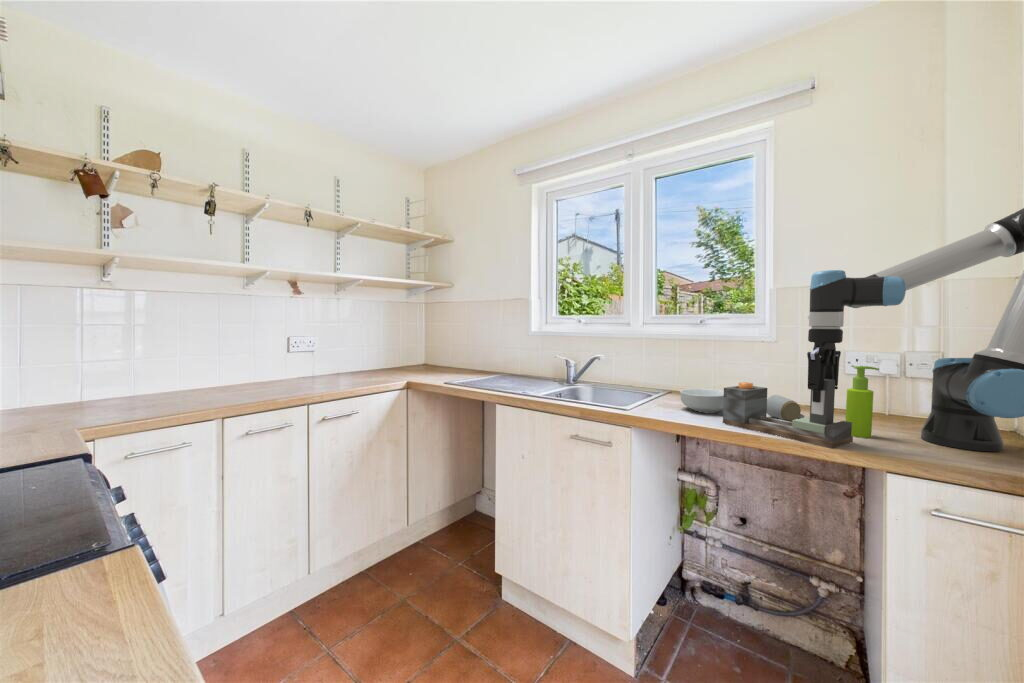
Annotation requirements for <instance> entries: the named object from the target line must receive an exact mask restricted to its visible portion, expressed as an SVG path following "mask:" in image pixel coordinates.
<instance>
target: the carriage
mask: <svg viewBox="0 0 1024 683" xmlns="http://www.w3.org/2000/svg"><path fill="white" fill-rule="evenodd" d="M823 391H825V400H824V415H819V414H813V413H811V407H812V390H811V389H810V406H809V417H808V416H806V417H804V418H800V419H798V418H797V419H795V420H792V421H791V422H792V427H793V428H798V429H803V430H808V431H813V432H817V433H822V434H825V425H828V424H832V423H836V422H837V421H836V422H835V421H834V420H835V419H834V417H835V416H834V414H835V413H834V412H835V397H836V396H835V392H836V389H835V380H832V379H824V386H823Z"/></svg>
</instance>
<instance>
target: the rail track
mask: <svg viewBox="0 0 1024 683" xmlns="http://www.w3.org/2000/svg"><path fill="white" fill-rule="evenodd" d="M723 391H724V400H723V409H722V424H723V423H725V424H724V425H728V424H729V425H728V426H732V425H733V426H732V427H736V426H737V427H736V428H741V427H742V428H741V429H745V428H746V430H749V429H751V430H750V431H754V430H755V432H758V431H760V432H759V433H762V432H763V434H767V433H768V435H771V434H772V436H775V435H777V436H776V437H780V436H781V438H784V437H785V438H784V439H788V438H790V440H793V439H794V441H797V440H798V442H802V443H807V444H811V445H814V446H820V447H822V448H823V447H824V448H828V449H835V448H836V447H837V446H838V447H840V445H841V446H843V445H846V444H850V442H851V443H853V441H854V436H851V432H852V422H847V421H846V420H841V421H836V423H832V424H828V425H825V434H822V433H817V432H813V431H808V430H803V429H798V428H793V427H792V421H784V420H781V419H777V418H774V417H769V416H767V415H768V414H767V399H768V387H762V386H756V385H755V386H754V385H753V389H750V390H748V389H741V388H739V385H735V386H726V387H723Z"/></svg>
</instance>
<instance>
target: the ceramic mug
mask: <svg viewBox="0 0 1024 683" xmlns="http://www.w3.org/2000/svg"><path fill="white" fill-rule="evenodd" d="M766 415H768V417H769V416H770V418H774V419H777V418H778V419H779V420H784V421H789V422H792V420H795V419H798V418H799V419H800V418H805V415H804V414H802V413H801V406H800V404H798V402H796V400H795V401H794V400H792V399H790V398H787V397H784V396H781V395H779V394H774V395H771V396H769V397H767V414H766Z"/></svg>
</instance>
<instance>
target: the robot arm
mask: <svg viewBox="0 0 1024 683" xmlns="http://www.w3.org/2000/svg"><path fill="white" fill-rule="evenodd" d="M1021 253H1024V207H1023V208H1021V209H1019V210H1017V211H1015V212H1013V213H1012V214H1009V215H1007V216H1005V217H1003V218H1001V219H998V220H997V221H994V222H991V223H989V224H987V225H986V226H985V227H984V229H983V230H982V231H979V232H977V233H974V234H971V235H969V236H967V237H964V238H961V239H959V240H956V241H954V242H952V243H949V244H947V245H944V246H941V247H938V248H936V249H934V250H933V249H932V250H931V251H928V252H926V253H923V254H921V255H919V256H916V257H913V258H910V259H908V260H906V261H903V262H901V263H898V264H895V265H893V266H890V267H888V268H886V269H883V270H880V271H878V272H876V273H873V274H871V275H868V276H865V277H847V275H846V271H845V270H841V269H838V270H837V269H829V270H828V269H827V270H819V271H815V272H813V274H811V279H810V286H809V315H808V316H807V319H808V327H809V330H808V334H807V335H808V336H807V338H808V339H807V341H808V342H810V343H814V344H813V348H812V349H813V350H812V351H807V354H806V355H807V362H808V363H807V389H808V390H810V391H811V390H812V407H811V413H813V414H819V415H824V400H825V391H823V386H824V379H832V380H835V390H838V389H839V388H838V385H839V372H840V371H839V370H840V358H841V355H842V354H841V353H842V351H841V350H836V344H840V343H843V340H844V339H843V337H844V336H843V334H844V331H843V329H842V328H843V327H844V318H845V317H844V316H845V312H844V310H845V306H846V307H848V308H853V309H860V308H864V307H865V308H866V307H888V306H889V307H890V306H892V307H893V306H898V305H901V304H902V303H903V301H904V299H905V296H906V293H907V292H906V291H909V290H912V289H914V288H917V287H919V286H922V285H925V284H928V283H930V282H934V281H937V280H939V279H941V278H943V277H944V278H945V277H946V276H950V275H952V274H955V273H958V272H960V271H963V270H966V269H968V268H971V267H975V266H976V265H980V264H982V263H985V262H988V261H990V260H993V259H996V258H998V257H1002V258H1003V257H1004V258H1010V257H1013V256H1016V255H1018V254H1021ZM1012 292H1013V293H1012V295H1011V297H1010V299H1009V301H1008V304H1007V305H1006V308H1005V309H1004V312H1003V313H1002V316H1001V317H1000V320H999V322H998V324H997V326H996V328H995V330H994V332H993V334H992V336H991V339H990V341H989V343H988V344H987V347H986V348H984V349H983V350H979V351H976V352H974V354H973V356H972V357H942V358H938V359H936V360H935V361H934V362H933V363H934V364H933V369H932V388H931V390H932V391H931V408H930V413H929V415H928V417H927V418H926V421H925V422H924V425H923V426H922V427H921V431H920V432H921V433H920V438H921V439H922V440H924V441H926V442H930V443H931V444H932V443H933V444H936V445H941V446H944V447H945V446H946V447H950V448H956V449H962V450H968V451H978V452H1002V451H1003V449H1004V440H1003V437H1002V435H1001V432H1000V430H999V428H998V425H997V423H996V420H995V418H1001V419H1019V418H1024V270H1023V272H1022V273H1021V276H1020V278H1019V280H1018V282H1017V284H1016V287H1015V288H1014V291H1012ZM810 327H811V328H810Z"/></svg>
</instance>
